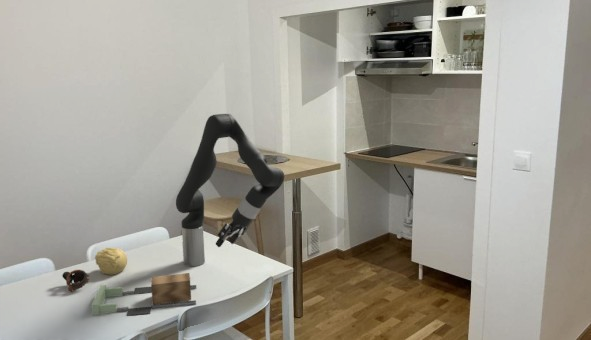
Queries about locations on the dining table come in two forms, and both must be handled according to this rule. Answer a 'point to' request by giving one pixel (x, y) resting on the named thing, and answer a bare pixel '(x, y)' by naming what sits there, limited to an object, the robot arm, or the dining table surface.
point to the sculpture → (111, 260)
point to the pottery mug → (75, 279)
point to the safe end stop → (100, 298)
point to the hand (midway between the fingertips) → (224, 244)
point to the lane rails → (159, 304)
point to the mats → (141, 309)
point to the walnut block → (171, 288)
